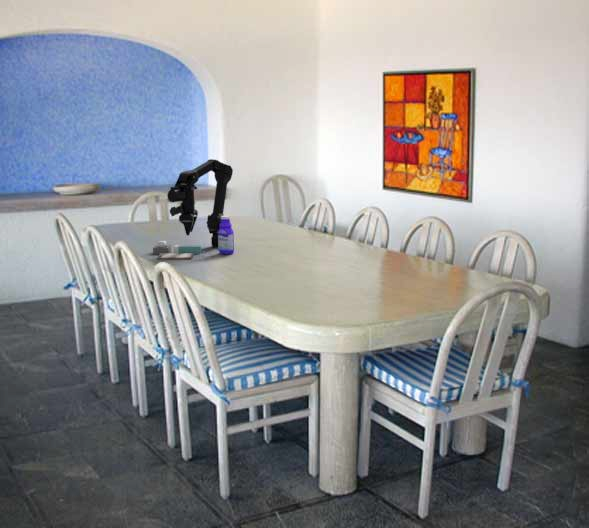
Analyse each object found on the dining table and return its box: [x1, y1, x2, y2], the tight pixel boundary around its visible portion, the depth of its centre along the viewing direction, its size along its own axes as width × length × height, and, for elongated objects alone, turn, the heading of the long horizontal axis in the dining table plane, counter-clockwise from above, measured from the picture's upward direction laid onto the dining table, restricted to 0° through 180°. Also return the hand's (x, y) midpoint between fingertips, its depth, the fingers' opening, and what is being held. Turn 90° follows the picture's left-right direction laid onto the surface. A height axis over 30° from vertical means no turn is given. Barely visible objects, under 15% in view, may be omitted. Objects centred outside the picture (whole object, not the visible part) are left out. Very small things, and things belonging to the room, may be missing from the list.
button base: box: [152, 244, 172, 255], centre depth 357 cm, size 7×7×3 cm
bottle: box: [217, 215, 235, 255], centre depth 353 cm, size 7×6×17 cm
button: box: [156, 240, 167, 247], centre depth 357 cm, size 4×4×3 cm
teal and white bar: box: [173, 244, 202, 255], centre depth 356 cm, size 12×4×4 cm, turn 89°
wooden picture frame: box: [156, 252, 195, 260], centre depth 347 cm, size 15×11×1 cm
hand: (189, 233), depth 355 cm, fingers open, 9 cm apart
